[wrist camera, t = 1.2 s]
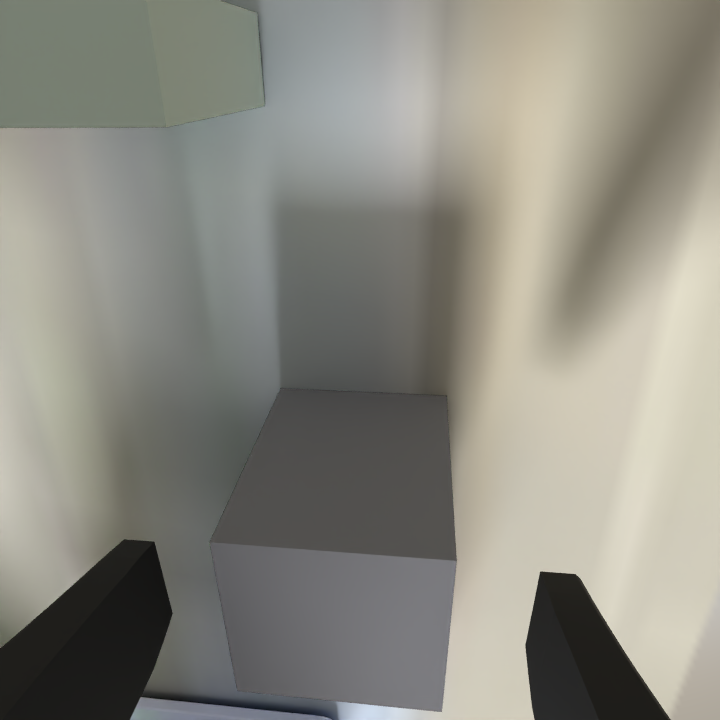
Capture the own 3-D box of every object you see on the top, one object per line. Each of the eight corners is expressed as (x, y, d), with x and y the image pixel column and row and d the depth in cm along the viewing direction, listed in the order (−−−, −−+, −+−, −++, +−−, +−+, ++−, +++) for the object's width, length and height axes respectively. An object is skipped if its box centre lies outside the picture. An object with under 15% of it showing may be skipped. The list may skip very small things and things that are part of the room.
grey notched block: (430, 621, 17) (431, 817, 12) (300, 610, 17) (257, 796, 13) (446, 395, 13) (456, 561, 9) (280, 388, 13) (209, 541, 9)
